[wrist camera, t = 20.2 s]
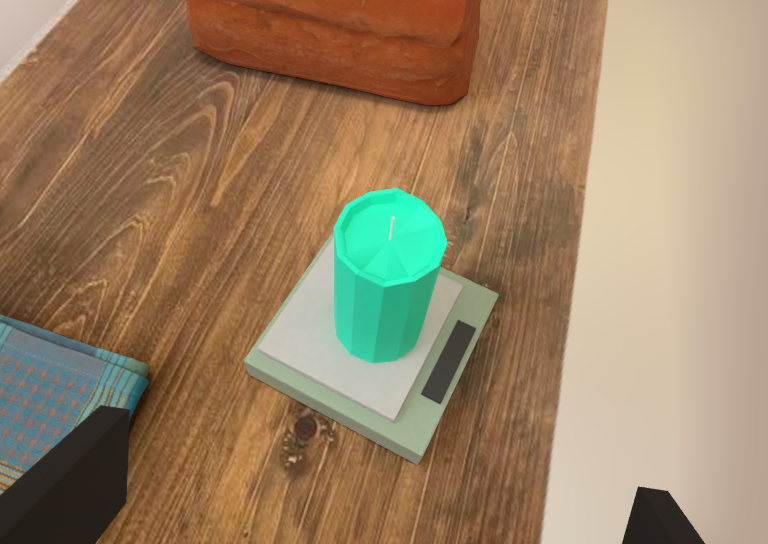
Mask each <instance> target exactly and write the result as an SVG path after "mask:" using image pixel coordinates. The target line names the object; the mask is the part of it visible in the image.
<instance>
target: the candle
mask: <svg viewBox="0 0 768 544" xmlns="http://www.w3.org/2000/svg"><path fill="white" fill-rule="evenodd" d="M446 247H447V240H446V236H445V233H444V229H443V226H442V222H441V220H440V219H439V218H438V217H437V216H436V215H435V213H434V212H433V211H432V210H431V209H430V208H429V207H428V206H427V204H426V203H425V202H424V201H423V200H421V199H419V198H417V197H415V196H413V195H410V194H408V193H406V192H404V191H402V190H400V189H398V188H394V189H387V190H380V191H373V192H368V193H366V194H364V195H362V196H361V197H359V198H357V199H355V200H353V201H352V202H350V203H348V204H346V205H345V207H344V209H343V211H342V213H341V215H340V217H339V219H338V221H337V223H336V224H335V226H334V319H335V327H336V335H337V338H338V339H339V341H340V342H341V343H342V344H343V346H344V347H345V348H346V349H347V351H348V352H349V353H350V354H351V355H353V356H355V357H358V358H360V359H363V360H366V361H368V362H371V363H381V362H390V361H397V360H398V359H400V358H401V357H402V356H404V355H405V354H406V353H408V352H409V351H410V350H412V349H413V348H415V345H416V343H417V340H418V338H419V335H420V333H421V330H422V328H423V324H424V321H425V317H426V314H427V311H428V307H429V304H430V301H431V297H432V294H433V291H434V287H435V284H436V281H437V277H438V274H439V270H440V267H441V264H442V260H443V257H444V254H445V250H446Z"/></svg>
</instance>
